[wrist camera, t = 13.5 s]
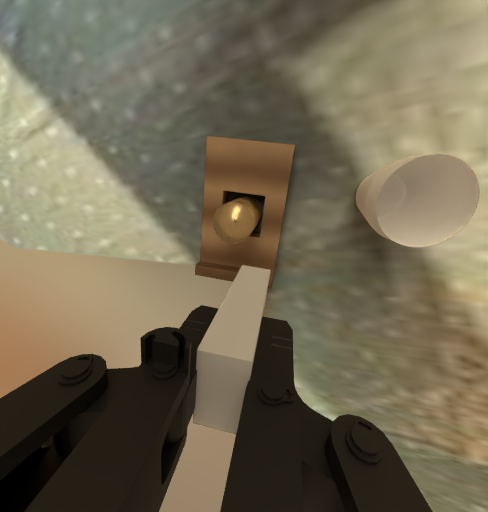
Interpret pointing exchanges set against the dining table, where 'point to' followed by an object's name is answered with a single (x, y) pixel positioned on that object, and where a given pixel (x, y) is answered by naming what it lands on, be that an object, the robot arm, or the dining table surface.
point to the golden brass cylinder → (237, 219)
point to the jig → (251, 182)
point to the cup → (419, 199)
